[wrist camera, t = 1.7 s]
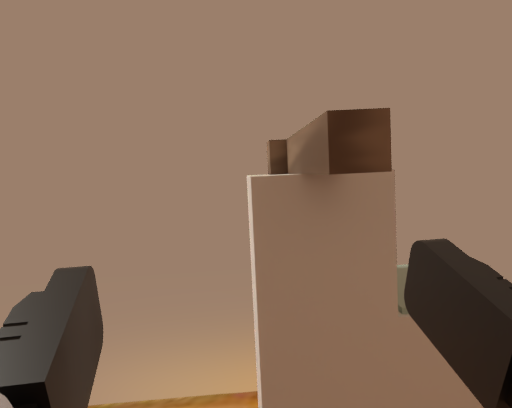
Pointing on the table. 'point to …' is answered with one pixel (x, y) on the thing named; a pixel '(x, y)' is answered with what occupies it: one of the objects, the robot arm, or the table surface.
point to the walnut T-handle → (336, 145)
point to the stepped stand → (337, 299)
